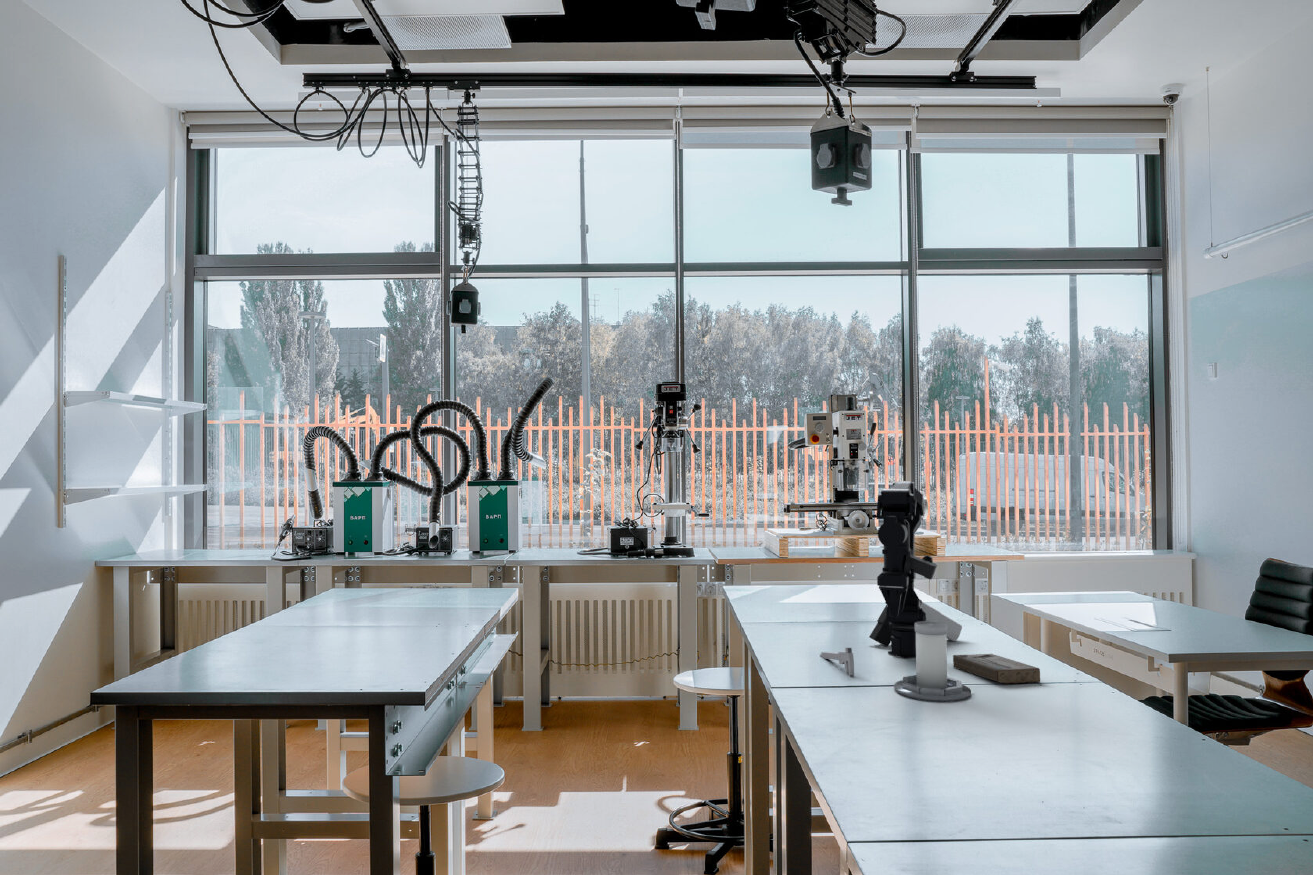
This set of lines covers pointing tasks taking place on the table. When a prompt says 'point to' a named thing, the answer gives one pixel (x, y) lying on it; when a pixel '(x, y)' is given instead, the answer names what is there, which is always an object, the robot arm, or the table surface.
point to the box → (997, 668)
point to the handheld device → (953, 627)
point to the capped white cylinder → (931, 654)
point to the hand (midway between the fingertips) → (897, 614)
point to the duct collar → (932, 690)
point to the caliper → (842, 659)
